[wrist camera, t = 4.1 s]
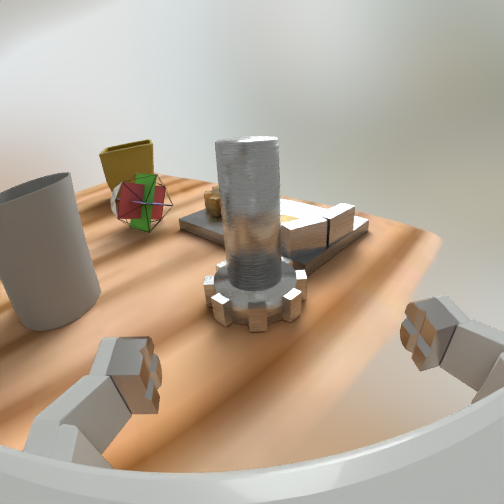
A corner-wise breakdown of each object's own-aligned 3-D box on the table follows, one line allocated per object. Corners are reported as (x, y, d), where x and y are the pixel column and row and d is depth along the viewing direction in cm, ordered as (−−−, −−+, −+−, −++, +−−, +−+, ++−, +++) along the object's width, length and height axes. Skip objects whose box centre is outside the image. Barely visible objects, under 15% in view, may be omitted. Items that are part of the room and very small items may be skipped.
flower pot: (160, 197, 48) (152, 142, 44) (108, 208, 45) (98, 153, 41) (157, 185, 55) (151, 138, 51) (112, 194, 53) (104, 148, 49)
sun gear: (238, 234, 32) (235, 197, 30) (194, 220, 37) (190, 188, 35) (284, 214, 37) (283, 181, 35) (239, 203, 42) (237, 174, 40)
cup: (25, 345, 17) (-29, 218, 13) (15, 299, 23) (-20, 200, 18) (114, 300, 22) (82, 175, 18) (86, 267, 28) (61, 169, 23)
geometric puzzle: (159, 194, 41) (123, 157, 35) (194, 199, 37) (156, 156, 31) (132, 238, 39) (90, 205, 33) (165, 249, 35) (119, 211, 29)
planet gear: (259, 348, 18) (247, 151, 13) (188, 303, 22) (163, 147, 17) (324, 295, 22) (330, 137, 17) (254, 266, 26) (245, 132, 21)
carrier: (305, 277, 24) (306, 234, 22) (180, 228, 35) (175, 197, 33) (367, 230, 32) (370, 197, 30) (252, 200, 42) (251, 174, 41)
